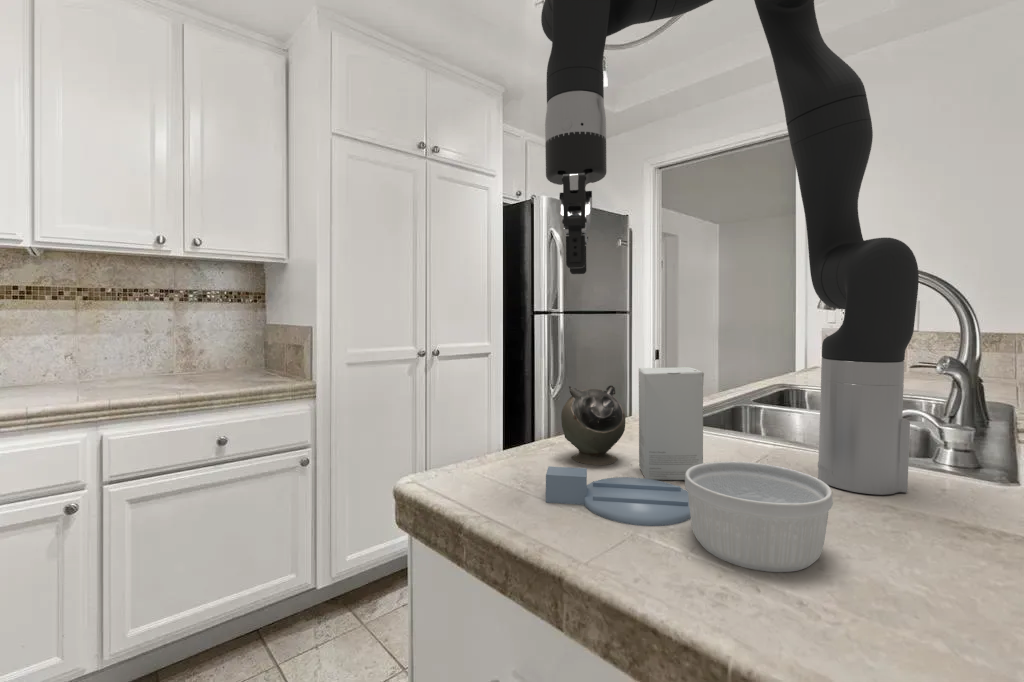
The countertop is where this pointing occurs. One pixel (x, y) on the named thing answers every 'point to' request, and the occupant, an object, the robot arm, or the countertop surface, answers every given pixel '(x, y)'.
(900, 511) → the countertop surface
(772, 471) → the ramekin
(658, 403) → the skincare box
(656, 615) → the countertop surface
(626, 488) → the lid
